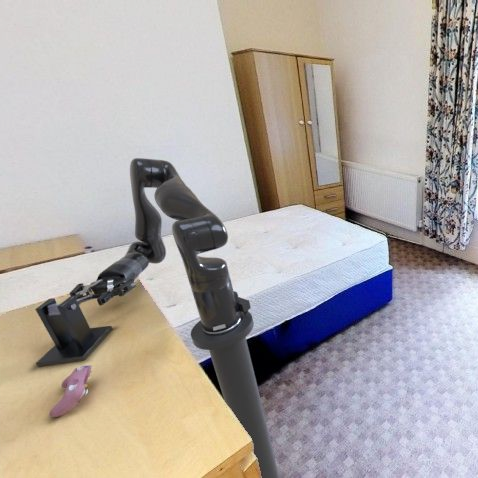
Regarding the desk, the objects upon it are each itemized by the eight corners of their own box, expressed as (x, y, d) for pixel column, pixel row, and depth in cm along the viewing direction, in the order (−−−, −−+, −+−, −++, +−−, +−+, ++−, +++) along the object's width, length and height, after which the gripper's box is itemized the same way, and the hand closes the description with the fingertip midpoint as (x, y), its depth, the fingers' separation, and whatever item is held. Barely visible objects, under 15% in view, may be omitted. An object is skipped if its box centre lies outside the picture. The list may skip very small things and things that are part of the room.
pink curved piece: (79, 417, 66) (88, 388, 66) (46, 420, 63) (56, 390, 63) (90, 384, 74) (98, 358, 73) (61, 386, 71) (69, 358, 70)
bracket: (72, 334, 87) (50, 291, 81) (113, 329, 89) (94, 286, 83) (37, 367, 76) (9, 320, 70) (84, 360, 78) (60, 314, 73)
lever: (81, 301, 88) (80, 293, 88) (106, 299, 90) (104, 290, 89) (40, 316, 76) (38, 306, 75) (69, 313, 77) (67, 303, 77)
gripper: (88, 265, 97) (45, 295, 83) (144, 261, 101) (113, 288, 86) (97, 286, 100) (57, 319, 85) (151, 281, 104) (122, 311, 89)
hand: (85, 303), depth 86 cm, fingers closed on lever, 5 cm apart
